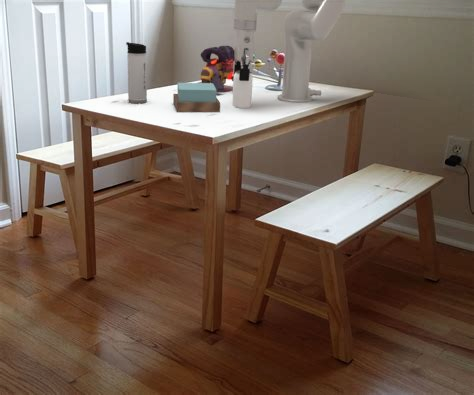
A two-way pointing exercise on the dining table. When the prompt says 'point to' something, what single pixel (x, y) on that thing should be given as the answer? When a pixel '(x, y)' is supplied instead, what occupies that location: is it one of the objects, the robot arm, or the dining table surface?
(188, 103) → the tower base block
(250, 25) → the robot arm
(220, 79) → the figurine
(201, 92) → the tower top block
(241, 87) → the can
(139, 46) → the travel mug
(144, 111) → the dining table surface
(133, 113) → the dining table surface
